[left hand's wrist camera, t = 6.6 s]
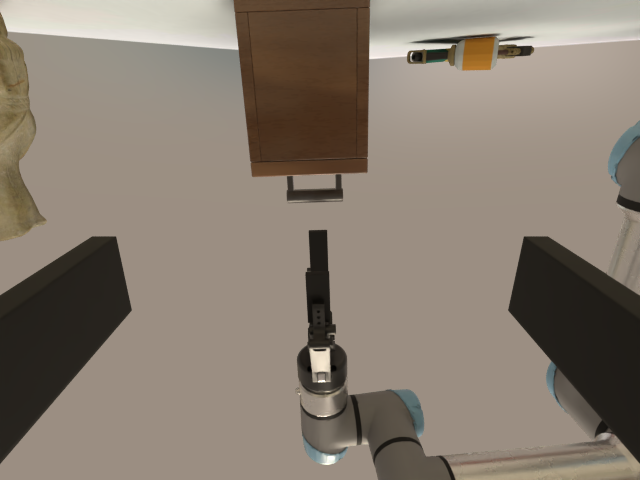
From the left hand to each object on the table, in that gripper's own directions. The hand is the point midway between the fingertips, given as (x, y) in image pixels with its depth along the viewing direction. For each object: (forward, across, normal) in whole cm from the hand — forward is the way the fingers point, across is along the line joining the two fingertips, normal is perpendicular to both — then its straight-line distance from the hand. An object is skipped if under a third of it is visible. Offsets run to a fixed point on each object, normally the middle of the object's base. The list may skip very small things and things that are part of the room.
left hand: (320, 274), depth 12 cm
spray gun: (+55, -24, -13) cm, 61 cm away
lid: (+28, +1, -1) cm, 28 cm away
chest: (+27, +1, -12) cm, 30 cm away
